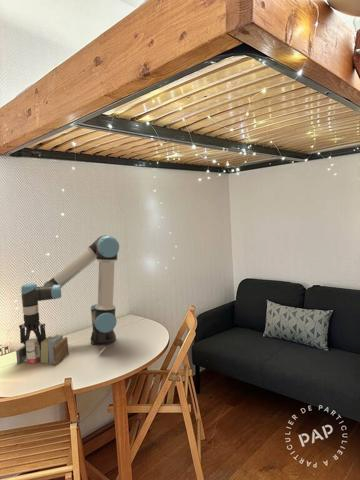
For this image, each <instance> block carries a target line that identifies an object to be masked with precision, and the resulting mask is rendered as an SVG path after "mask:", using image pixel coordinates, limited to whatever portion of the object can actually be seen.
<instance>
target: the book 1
mask: <svg viewBox="0 0 360 480" xmlns="http://www.w3.org/2000/svg"><path fill="white" fill-rule="evenodd" d="M53 337H54V336H51V335H50V336H47V337H46V339H45V340H44V341H42V342H41V360H40V364H49V350H48V341H49V340H50V339H51V338H53Z"/></svg>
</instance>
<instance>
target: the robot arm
mask: <svg viewBox="0 0 360 480" xmlns="http://www.w3.org/2000/svg"><path fill="white" fill-rule="evenodd" d="M119 250H120V244H119V241H118V239H116V238H115V237H114V236H112V235H100V236H99V237H98V238H97V239H96V240H94V241H93V242H92V243H91V244H90V245H89V246H88V247H87V250H86V251H84V252H83V253H81V255H79V256H78V257H77V258H75V259H74V260H73V261H72V262H70V263H69V264H68V265H67V266H66V267H64V268H63V269H62V270H60V271H59V272H58V273H56V275H54V276H53V277H52V278H51V279H50V280H48V281H46V282H45V283H44V284H43V286H37V284H36V283H25V284H23V285H21V287H20V290H21V301H22V303H21V304H22V314H23V316H22V317H23V322H24V323H21V324H19V326H18V327H19V330H20V331H19V333H20V334H19V336H20V344H23V346H24V345H25V350H26V341H27V340H29V339H30V337H31V332H33V333H34V334H35V336H36V337H37V340H38V342H39V344H38V355H39V357H40V356H41V342H42V341H44V340H45V339H46V338H47V335H46V323H41V322H40V312H39V310H40V308H39V302H42V301H51V300H56V299H61V298H62V288H63V287H64V286H65V285H66V284H67V283H69V282H70V281H71V280H73V279H74V278H75V277H76V276H78V275H79V274H80V273H81V272H83V270H85V269H86V268H88V266H90V265H91V264H93V263H94V262H95V261H97V262H98V281H97V303H95V304H91V306H90V311H91V312H90V313H91V326H92V327H91V328H92V332H91V336H90V344H91V345H93V346H106V345H109V343H110V344H112V343H114V342H115V341H116V340H117V335H116V333H115V331H114V329H115V328H116V326H117V321H118V320H117V317H116V306H115V304H114V290H115V289H114V283H115V280H114V279H115V263H116V262H117V261H118V254H119Z"/></svg>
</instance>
